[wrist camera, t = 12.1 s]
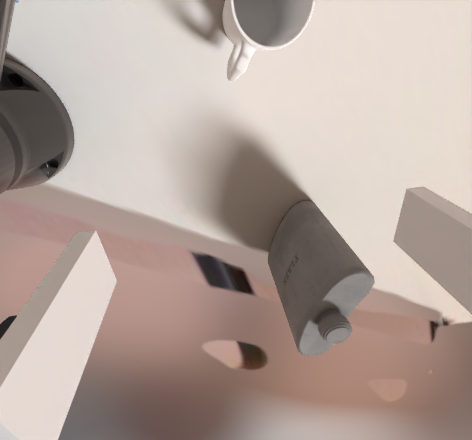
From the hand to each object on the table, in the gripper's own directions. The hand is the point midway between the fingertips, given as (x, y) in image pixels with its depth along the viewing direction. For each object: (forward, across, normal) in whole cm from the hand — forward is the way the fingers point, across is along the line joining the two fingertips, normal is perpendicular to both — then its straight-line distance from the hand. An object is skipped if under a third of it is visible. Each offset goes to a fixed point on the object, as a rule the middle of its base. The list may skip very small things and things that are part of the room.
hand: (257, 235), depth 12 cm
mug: (+29, +4, +9) cm, 31 cm away
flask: (+29, +10, -21) cm, 37 cm away
